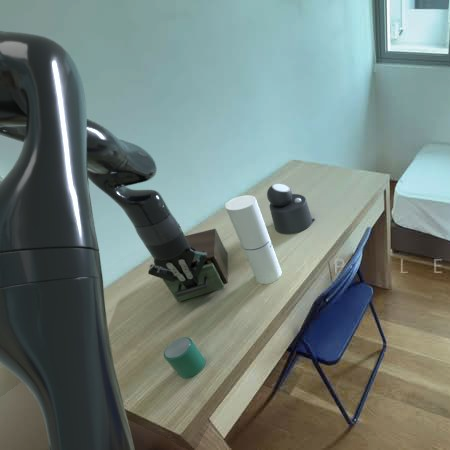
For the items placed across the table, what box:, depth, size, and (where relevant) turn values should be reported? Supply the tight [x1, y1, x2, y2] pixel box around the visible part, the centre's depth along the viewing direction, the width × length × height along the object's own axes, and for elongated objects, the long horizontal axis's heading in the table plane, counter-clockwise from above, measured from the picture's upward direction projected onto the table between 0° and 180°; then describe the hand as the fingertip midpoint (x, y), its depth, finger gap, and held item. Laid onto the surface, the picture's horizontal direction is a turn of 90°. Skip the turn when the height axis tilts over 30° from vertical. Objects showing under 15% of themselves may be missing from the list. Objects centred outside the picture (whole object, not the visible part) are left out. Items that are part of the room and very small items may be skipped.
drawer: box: [162, 259, 225, 303], centre depth 85 cm, size 18×11×8 cm, turn 25°
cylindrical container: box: [224, 194, 283, 285], centre depth 83 cm, size 7×7×25 cm
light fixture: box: [266, 183, 316, 235], centre depth 108 cm, size 13×16×14 cm
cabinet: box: [185, 228, 228, 285], centre depth 89 cm, size 15×13×10 cm
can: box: [163, 336, 206, 379], centre depth 66 cm, size 5×5×7 cm
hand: (193, 287), depth 80 cm, fingers closed
